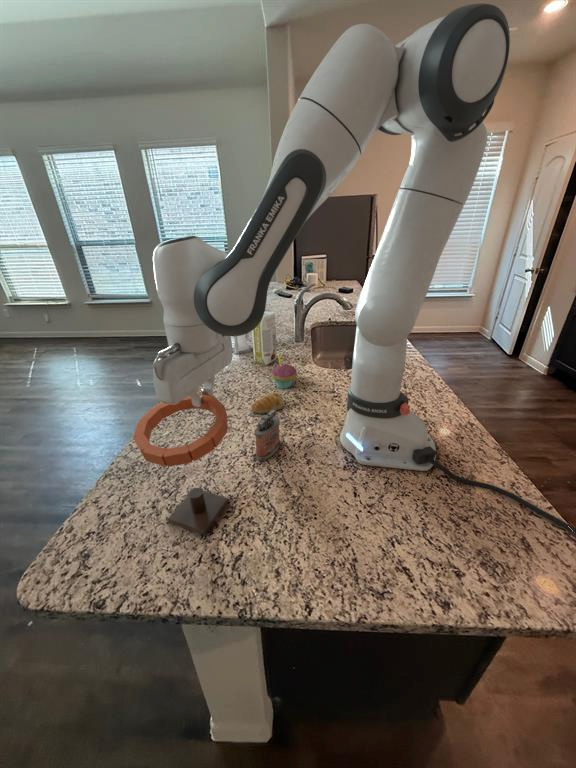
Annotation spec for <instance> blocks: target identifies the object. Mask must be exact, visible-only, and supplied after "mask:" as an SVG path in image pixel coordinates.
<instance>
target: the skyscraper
mask: <svg viewBox="0 0 576 768" xmlns="http://www.w3.org/2000/svg"><path fill="white" fill-rule="evenodd" d="M248 339H249V333H247V334H244V335H241V336H233V341H234V343H233V346H234V347H232V352H233V353H234V354H235V355H239V354H245V353H246V354H247V353H251V352H253V351H252V349H251V347H250V345H249V343H248Z"/></svg>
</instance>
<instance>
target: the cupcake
mask: <svg viewBox="0 0 576 768" xmlns="http://www.w3.org/2000/svg"><path fill="white" fill-rule="evenodd" d="M277 357H278V362H279V364H278V365H276V366H274V367H273V368H272V369H271V371H270V374H271V377H272V379H273V380H274V381H275V383H276V386H277V387H278V388H280V389H288V388H290V387H291V386H292V384H293V381H294V380H295V379H296V378H297V375H298V371H297V369H296V367H294V366H293V365H291V364H287V363H285V364H282V357H281V353H280V352H279V351H277Z"/></svg>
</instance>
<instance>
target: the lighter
mask: <svg viewBox="0 0 576 768" xmlns="http://www.w3.org/2000/svg"><path fill="white" fill-rule="evenodd" d="M280 421H281V419H280V417H278V416H277V410H276V411H275V410H272V411H270V412H269V413H266V414H262V416H261V417H260V419H259V420H258V421H257V426H256V428H254V430H253V435H254V436H255V448H256V452H255V457H256V460H257V461H260V462H261V461H262V462H264V461H266V460H267V459H269V458H270V457H272V456H273V455H274V454H275V453H276V452H277V451H278V450H279V448H280V446H281V440H280Z"/></svg>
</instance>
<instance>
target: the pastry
mask: <svg viewBox="0 0 576 768" xmlns="http://www.w3.org/2000/svg"><path fill="white" fill-rule="evenodd" d="M284 406H285V402H284V399H283V398H282V395H281V394H280V393H278V392H277V391H276V392H275V391H273V392H271V393H268V394H264V395H262V396H261V397H260V398H258V399H257V400H256V401H254V403H252V405H251V411H252V412H253V413H256V414H259V415H261V414H262V415H265V414H268V413H269V412H270V411H272V410H275V411H276V412H277V410H281V409H282V408H283V407H284Z"/></svg>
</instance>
